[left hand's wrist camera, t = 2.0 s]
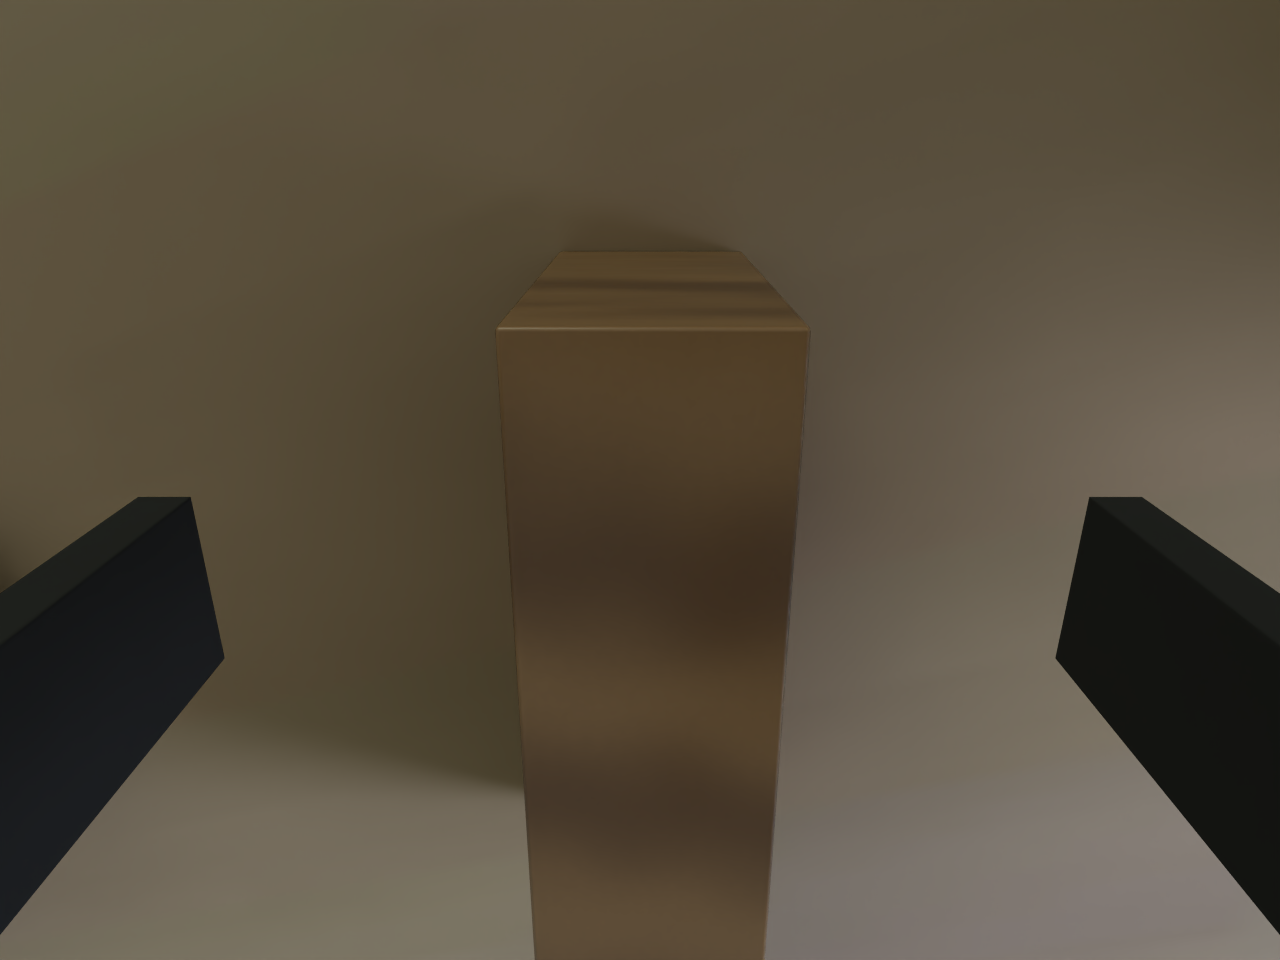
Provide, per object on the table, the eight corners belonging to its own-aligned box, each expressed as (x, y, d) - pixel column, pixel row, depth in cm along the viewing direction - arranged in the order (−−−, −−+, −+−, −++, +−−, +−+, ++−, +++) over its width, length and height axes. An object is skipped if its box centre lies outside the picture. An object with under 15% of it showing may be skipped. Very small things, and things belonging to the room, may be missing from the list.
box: (559, 251, 27) (493, 326, 15) (742, 251, 27) (811, 326, 15) (577, 801, 35) (544, 1118, 23) (718, 802, 35) (753, 1120, 23)
